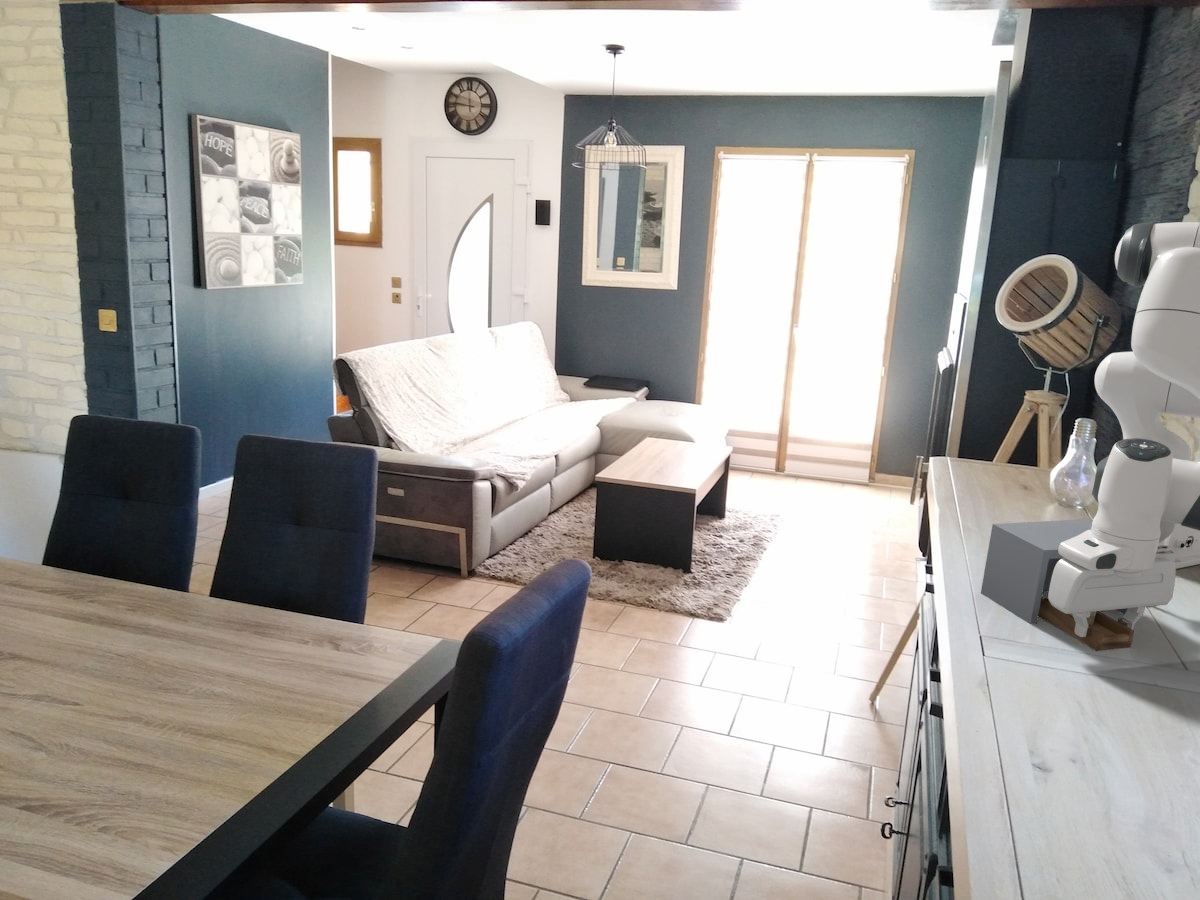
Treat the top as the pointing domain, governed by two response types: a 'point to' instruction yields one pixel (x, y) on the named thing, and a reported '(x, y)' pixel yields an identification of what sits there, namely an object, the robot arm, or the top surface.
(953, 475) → the top surface
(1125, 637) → the tray
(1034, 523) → the grey cover
